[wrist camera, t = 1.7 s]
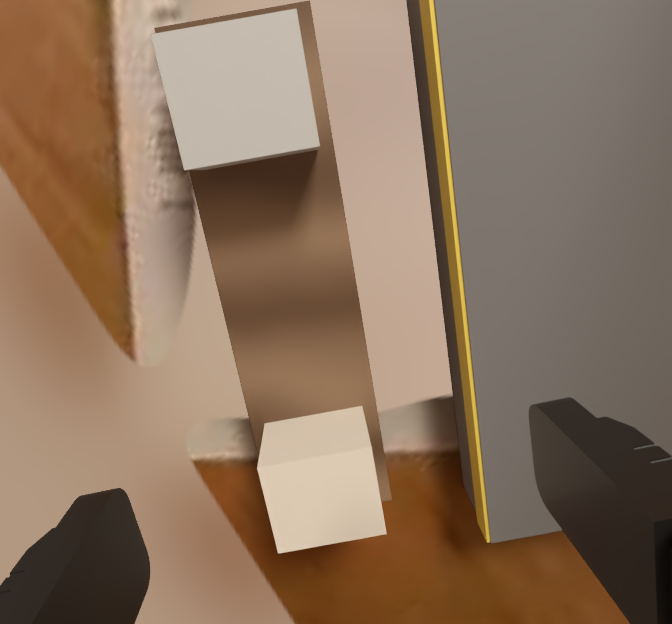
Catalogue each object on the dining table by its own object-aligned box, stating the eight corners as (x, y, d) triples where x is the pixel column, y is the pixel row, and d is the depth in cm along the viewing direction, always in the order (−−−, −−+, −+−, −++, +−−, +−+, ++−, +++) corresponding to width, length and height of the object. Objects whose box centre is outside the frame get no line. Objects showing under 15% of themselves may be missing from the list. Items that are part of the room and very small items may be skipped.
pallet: (178, 49, 25) (154, 28, 21) (309, 26, 25) (309, 0, 21) (278, 477, 31) (274, 521, 27) (381, 458, 31) (391, 499, 27)
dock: (394, -62, 24) (416, -120, 19) (610, -101, 24) (686, -168, 19) (460, 487, 32) (487, 544, 27) (620, 458, 32) (675, 510, 27)
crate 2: (264, 423, 26) (257, 468, 22) (362, 405, 26) (371, 447, 22) (282, 498, 27) (277, 553, 23) (375, 481, 27) (386, 534, 23)
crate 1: (179, 58, 21) (150, 34, 17) (298, 37, 21) (296, 8, 17) (205, 169, 22) (184, 170, 19) (317, 149, 22) (320, 146, 19)
